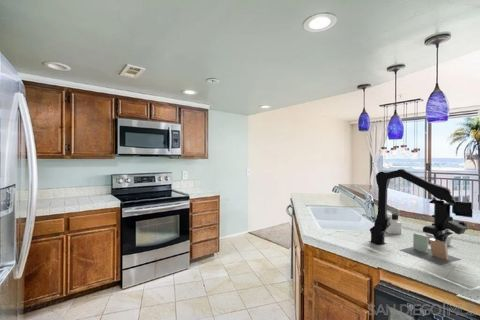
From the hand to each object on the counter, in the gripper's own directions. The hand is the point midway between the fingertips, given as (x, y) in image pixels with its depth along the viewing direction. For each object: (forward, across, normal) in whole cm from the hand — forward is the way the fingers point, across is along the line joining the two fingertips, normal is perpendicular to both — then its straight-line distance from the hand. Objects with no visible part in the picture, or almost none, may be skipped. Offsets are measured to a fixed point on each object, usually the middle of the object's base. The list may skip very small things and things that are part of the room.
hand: (441, 246), depth 112 cm
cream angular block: (+5, -1, 0) cm, 5 cm away
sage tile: (+5, -1, +8) cm, 10 cm away
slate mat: (+5, -2, +4) cm, 7 cm away
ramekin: (+6, +21, +12) cm, 25 cm away
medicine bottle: (+6, +15, +34) cm, 38 cm away
